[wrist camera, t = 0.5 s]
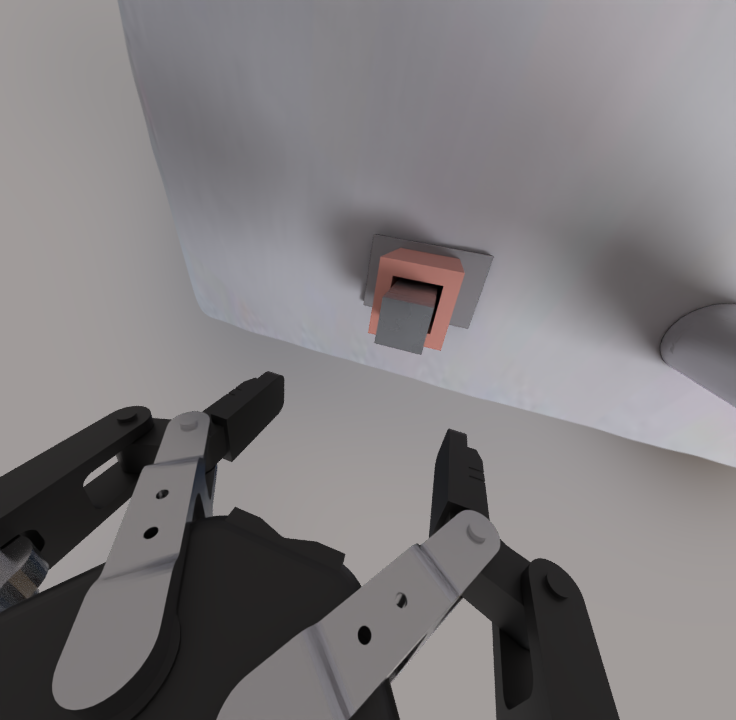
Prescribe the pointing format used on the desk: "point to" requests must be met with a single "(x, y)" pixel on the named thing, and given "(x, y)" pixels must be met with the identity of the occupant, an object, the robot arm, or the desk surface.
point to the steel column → (406, 315)
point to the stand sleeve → (428, 280)
